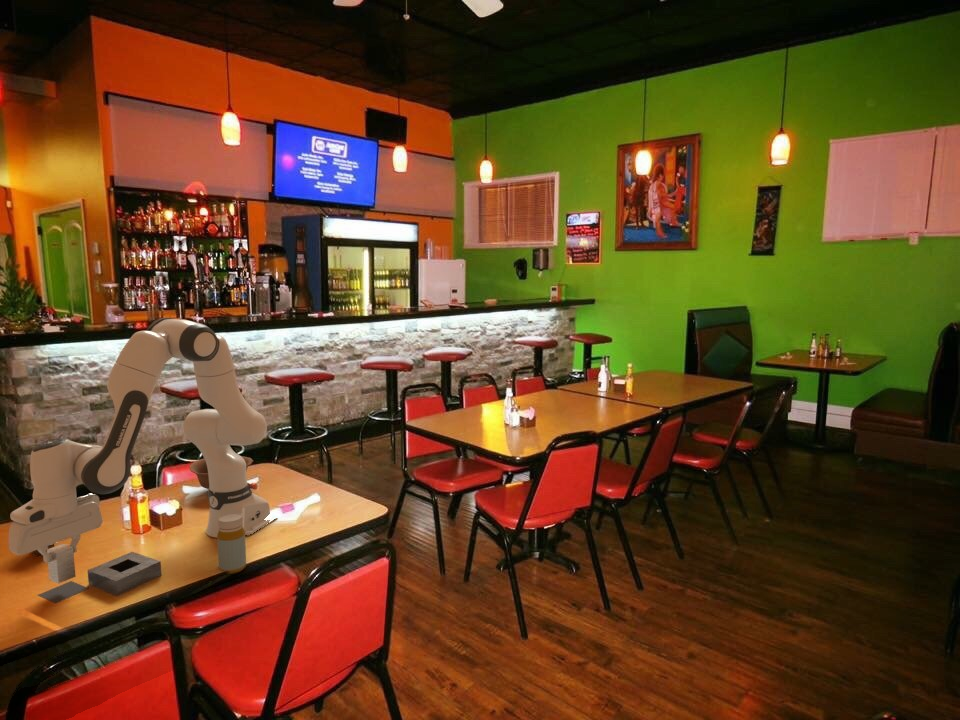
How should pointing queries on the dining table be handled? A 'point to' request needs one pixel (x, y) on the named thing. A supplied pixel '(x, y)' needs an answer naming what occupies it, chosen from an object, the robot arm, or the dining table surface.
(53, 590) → the rubber pad
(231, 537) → the bottle
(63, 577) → the steel plug
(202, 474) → the bowl
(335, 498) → the dining table surface
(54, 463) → the robot arm
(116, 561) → the socket block
